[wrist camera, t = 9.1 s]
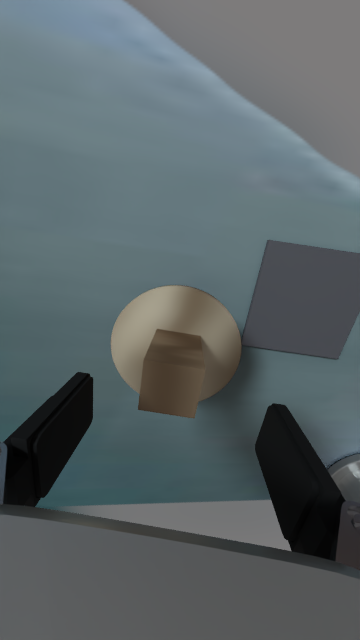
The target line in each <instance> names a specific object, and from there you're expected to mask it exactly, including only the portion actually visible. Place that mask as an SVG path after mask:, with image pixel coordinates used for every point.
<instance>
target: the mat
mask: <svg viewBox="0 0 360 640" xmlns="http://www.w3.org/2000/svg"><path fill="white" fill-rule="evenodd" d="M359 311H360V254H359V253H353V252H346V251H339V250H333V249H326V248H319V247H312V246H306V245H299V244H292V243H286V242H279V241H272V240H267V244H266V248H265V252H264V256H263V259H262V263H261V267H260V271H259V275H258V279H257V282H256V286H255V290H254V294H253V298H252V301H251V305H250V309H249V313H248V317H247V320H246V324H245V328H244V332H243V336H242V339H241V345H245V346H252V347H258V348H265V349H272V350H279V351H286V352H293V353H300V354H307V355H313V356H320V357H327V358H334V359H338V358H339V356H340V353H341V351H342V349H343V347H344V345H345V342H346V340H347V338H348V336H349V333H350V331H351V329H352V327H353V325H354V322H355V320H356V318H357V316H358V313H359Z"/></svg>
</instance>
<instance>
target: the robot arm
mask: <svg viewBox="0 0 360 640" xmlns="http://www.w3.org/2000/svg"><path fill="white" fill-rule="evenodd" d="M92 419H93V377H90V374H88V373H82V372H78V373H76V374H75V375H74V376H73V377H72V378H71V379H70V380H69V381H68V382H67V383H66V384H65V385H64V386H63V387H62V388H61V389H60V390H59V391H58V392H57V393H56V394H55V395H54V396H51V397H50V398H49V399H48V400H47V401H46V402H45V403H44V404H43V405H42V406H41V407H39V408H38V409H37V410H36V411H35V412H34V413H33V414H32V415H31V416H30V417H29V418H28V419H27V420H26V421H25V422H24V423H23V424H22V425H21V426H20V427H19V428H18V429H17V430H16V431H14V432H13V433H12V434H11V435H10V436H9V437H8V438H7V439H6V440H5V441H4V442H0V640H360V453H359V454H355V455H352V456H349V457H346V458H344V459H342V460H340V461H338V462H336V463H335V464H334V465H332V466H331V467H330V468H329V469H328V470H327V469H326V468H325V466H324V464H323V463H322V461H321V460H320V458H319V457H318V455H317V454H316V452H315V450H314V449H313V447H312V446H311V444H310V443H309V441H308V439H307V438H306V436H305V435H304V433H303V432H302V430H301V428H300V427H299V425H298V424H297V422H296V421H295V419H294V418H293V416H292V414H291V413H290V411H289V410H288V408H287V407H286V406H285V405H281V404H272V405H271V406H269V407H268V409H267V412H266V415H265V418H264V421H263V424H262V427H261V429H260V432H259V435H258V438H257V441H256V445H255V451H256V454H257V457H258V460H259V464H260V467H261V470H262V473H263V476H264V479H265V482H266V485H267V488H268V491H269V494H270V497H271V500H272V503H273V506H274V509H275V512H276V515H277V518H278V522H279V524H280V528H281V531H282V534H283V536H284V538H285V539H286V540H288V542H289V544H290V547H291V550H292V552H291V551H287V550H281V549H276V548H272V547H266V546H260V545H255V544H250V543H244V542H238V541H233V540H227V539H221V538H216V537H211V536H205V535H199V534H194V533H188V532H182V531H176V530H171V529H165V528H160V527H153V526H148V525H142V524H136V523H130V522H125V521H119V520H113V519H107V518H101V517H95V516H89V515H83V514H77V513H71V512H65V511H58V510H51V509H44V508H37V507H35V506H36V505H37V503H38V501H39V500H40V498H41V497H42V498H44V497H45V496H46V495H47V494H48V492H49V490H50V489H51V487H52V486H53V484H54V482H55V481H56V479H57V478H58V476H59V474H60V473H61V471H62V470H63V468H64V466H65V465H66V463H67V462H68V460H69V458H70V457H71V455H72V454H73V452H74V450H75V449H76V447H77V445H78V444H79V442H80V441H81V439H82V437H83V436H84V434H85V433H86V431H87V429H88V428H89V426H90V424H91V422H92Z"/></svg>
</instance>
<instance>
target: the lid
mask: <svg viewBox="0 0 360 640" xmlns="http://www.w3.org/2000/svg"><path fill="white" fill-rule="evenodd" d="M241 347H242V346H241V337H240V333H239V330H238V327H237V325H236V322H235V321H234V319H233V317H232V315H231V314H230V313H229V311H228V310H227V309H226V308H225V306H224V305H223V304H222V303H220V302H219V301H218V300H217V299H216V298H214V297H213V296H212V295H210V294H208V293H206V292H204V291H202V290H199V289H197V288H193V287H189V286H183V285H167V286H161V287H157V288H154V289H151V290H149V291H147V292H144V293H143V294H141V295H139V296H138V297H136V298H135V299H134V300H133V301H132V302H130V303H129V304H128V305H127V306H126V307H125V308H124V310H123V311H122V312H121V314H120V315H119V317H118V318H117V320H116V323H115V325H114V328H113V331H112V336H111V352H112V357H113V360H114V364H115V366H116V368H117V370H118V372H119V373H120V375H121V377H122V378H123V379H124V380H125V382H126V383H127V384H128V385H129V386H130V387H131V388H132V389H134V390H135V391H136V392H138V393H139V394H140V396H139V405H138V410H144V411H150V412H156V413H163V414H169V415H176V416H182V417H188V418H195V413H196V409H197V405H198V402H199V401H202V400H205V399H207V398H209V397H211V396H213V395H214V394H216V393H217V392H219V391H220V390H221V389H222V388H224V387H225V385H226V384H227V383H228V382H229V381H230V380H231V378H232V377H233V375H234V374H235V372H236V370H237V367H238V365H239V362H240V357H241Z"/></svg>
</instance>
